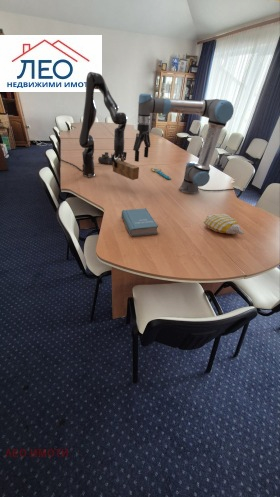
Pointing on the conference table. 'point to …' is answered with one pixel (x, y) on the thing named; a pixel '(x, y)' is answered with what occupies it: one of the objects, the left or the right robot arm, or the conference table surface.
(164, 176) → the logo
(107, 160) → the laser sight
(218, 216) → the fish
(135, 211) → the book
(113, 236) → the conference table surface
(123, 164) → the bar
